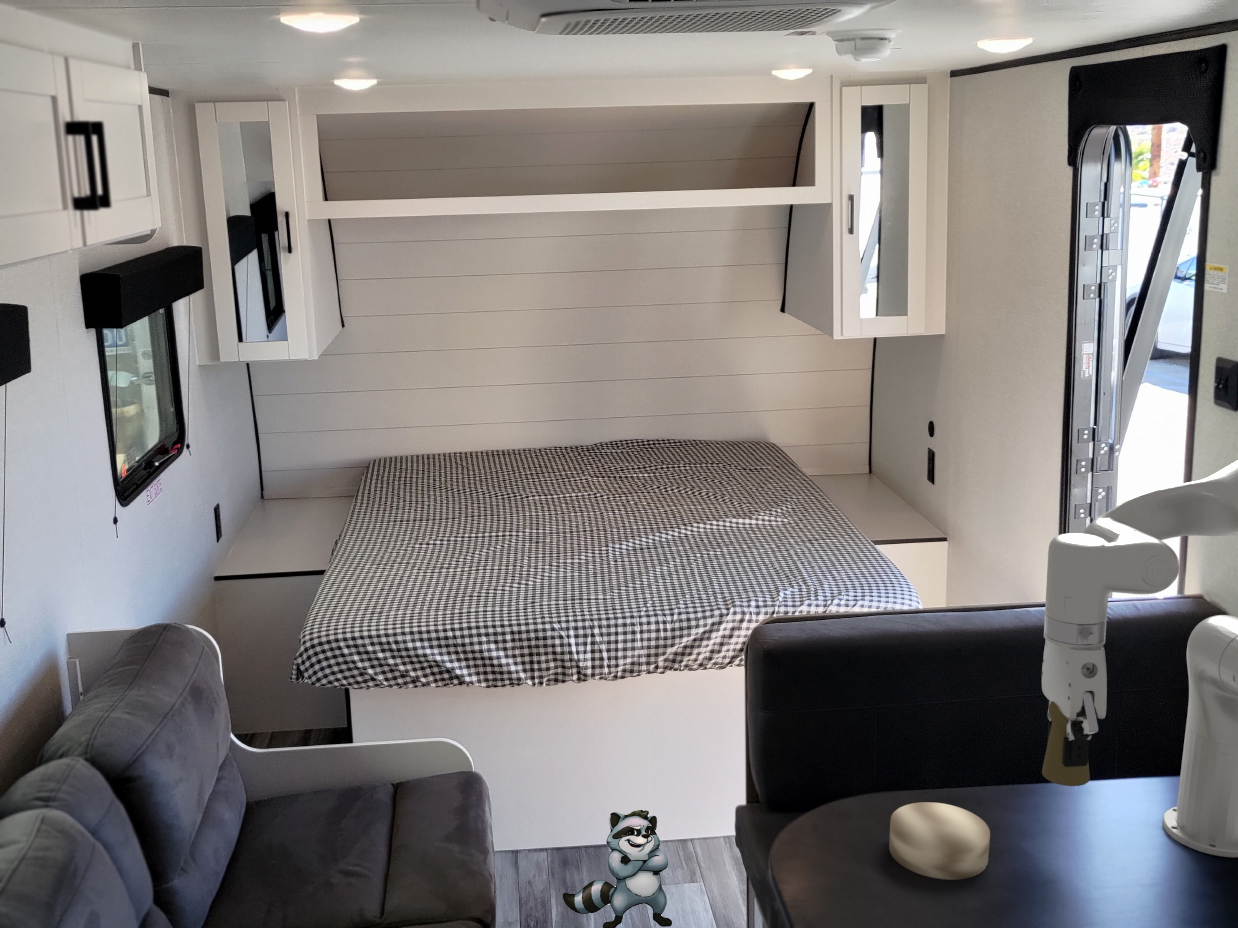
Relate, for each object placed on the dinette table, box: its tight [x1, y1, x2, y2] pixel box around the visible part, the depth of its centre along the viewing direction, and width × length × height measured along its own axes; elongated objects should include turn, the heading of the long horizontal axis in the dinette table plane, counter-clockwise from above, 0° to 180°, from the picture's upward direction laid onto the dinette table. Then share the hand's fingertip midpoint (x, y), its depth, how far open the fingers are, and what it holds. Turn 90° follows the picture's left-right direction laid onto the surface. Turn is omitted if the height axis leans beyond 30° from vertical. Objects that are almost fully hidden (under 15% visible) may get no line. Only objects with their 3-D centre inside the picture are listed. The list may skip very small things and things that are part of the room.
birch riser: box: [888, 801, 991, 881], centre depth 156 cm, size 13×13×4 cm
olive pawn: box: [1041, 701, 1091, 787], centre depth 154 cm, size 6×6×11 cm
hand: (1067, 755), depth 155 cm, fingers closed on olive pawn, 4 cm apart
